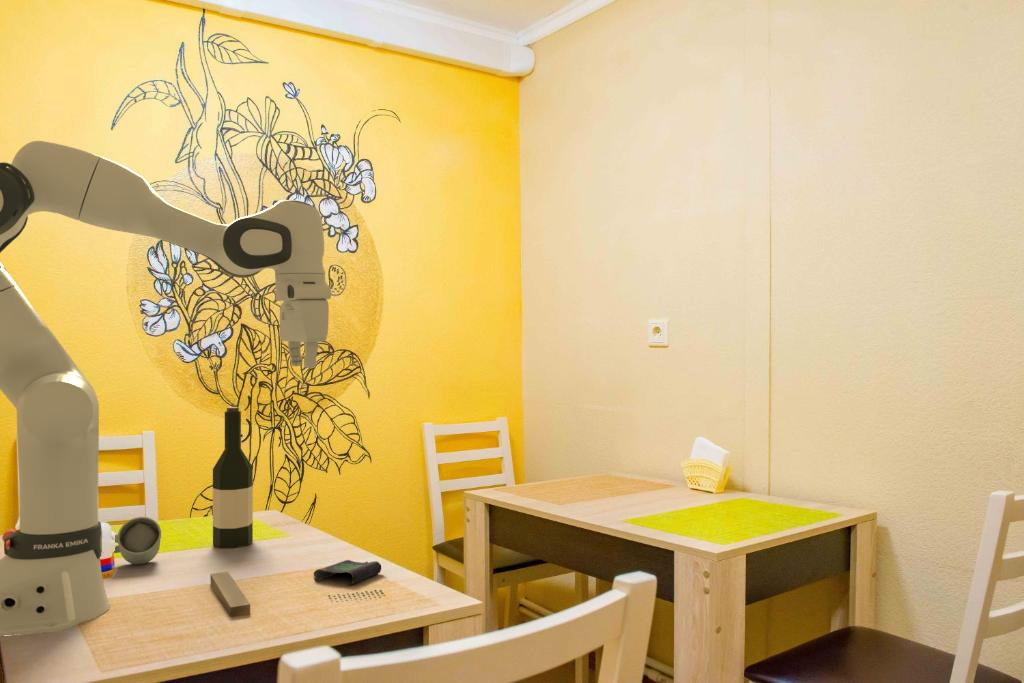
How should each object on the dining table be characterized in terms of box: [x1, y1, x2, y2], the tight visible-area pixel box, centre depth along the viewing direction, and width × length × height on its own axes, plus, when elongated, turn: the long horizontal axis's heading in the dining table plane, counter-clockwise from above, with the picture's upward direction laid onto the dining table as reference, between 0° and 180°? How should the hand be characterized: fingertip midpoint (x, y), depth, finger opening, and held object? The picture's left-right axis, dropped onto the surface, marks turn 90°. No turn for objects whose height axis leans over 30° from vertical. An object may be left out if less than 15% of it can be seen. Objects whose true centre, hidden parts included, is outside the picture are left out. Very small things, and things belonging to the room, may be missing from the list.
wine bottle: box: [212, 406, 254, 549], centre depth 175 cm, size 8×8×30 cm
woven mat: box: [327, 589, 385, 604], centre depth 133 cm, size 10×11×2 cm
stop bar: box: [210, 571, 251, 618], centre depth 135 cm, size 3×20×3 cm, turn 29°
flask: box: [313, 559, 382, 587], centre depth 148 cm, size 9×3×11 cm
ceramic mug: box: [113, 516, 162, 566], centre depth 158 cm, size 11×8×8 cm
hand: (303, 366), depth 145 cm, fingers open, 8 cm apart
